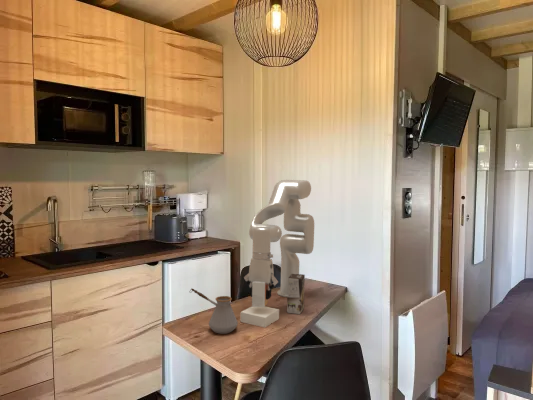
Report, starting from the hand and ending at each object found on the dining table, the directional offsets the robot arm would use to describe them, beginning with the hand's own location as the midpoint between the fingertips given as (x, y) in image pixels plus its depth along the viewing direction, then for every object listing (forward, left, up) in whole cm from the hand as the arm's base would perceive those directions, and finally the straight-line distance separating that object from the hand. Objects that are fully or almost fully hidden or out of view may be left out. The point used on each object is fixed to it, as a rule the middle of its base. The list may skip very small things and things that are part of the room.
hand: (260, 297), depth 170 cm
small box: (0, 0, -3) cm, 3 cm away
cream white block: (0, 0, -10) cm, 10 cm away
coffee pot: (+17, -13, -10) cm, 24 cm away
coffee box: (-19, +9, -10) cm, 23 cm away
